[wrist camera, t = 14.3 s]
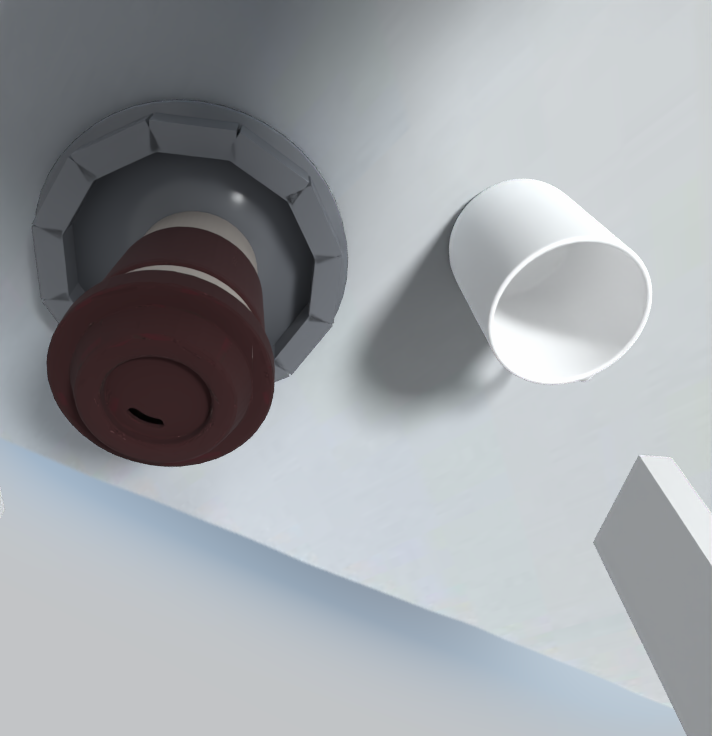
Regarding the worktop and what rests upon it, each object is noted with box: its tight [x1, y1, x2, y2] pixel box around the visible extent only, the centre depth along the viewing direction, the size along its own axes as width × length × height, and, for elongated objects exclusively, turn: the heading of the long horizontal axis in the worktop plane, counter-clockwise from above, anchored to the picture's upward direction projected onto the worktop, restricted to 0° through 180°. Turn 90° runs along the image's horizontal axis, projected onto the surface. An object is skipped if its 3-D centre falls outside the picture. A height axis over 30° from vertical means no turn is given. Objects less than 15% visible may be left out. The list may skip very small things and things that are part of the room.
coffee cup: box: [47, 211, 275, 467], centre depth 34 cm, size 10×10×15 cm
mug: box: [449, 179, 652, 385], centre depth 38 cm, size 9×12×11 cm
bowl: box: [32, 100, 348, 382], centre depth 39 cm, size 19×19×3 cm
